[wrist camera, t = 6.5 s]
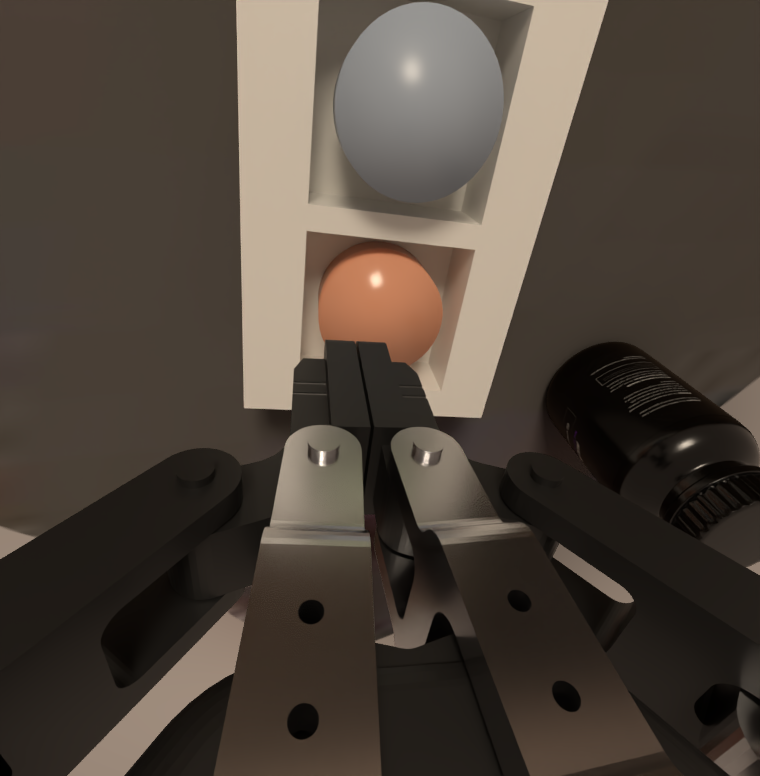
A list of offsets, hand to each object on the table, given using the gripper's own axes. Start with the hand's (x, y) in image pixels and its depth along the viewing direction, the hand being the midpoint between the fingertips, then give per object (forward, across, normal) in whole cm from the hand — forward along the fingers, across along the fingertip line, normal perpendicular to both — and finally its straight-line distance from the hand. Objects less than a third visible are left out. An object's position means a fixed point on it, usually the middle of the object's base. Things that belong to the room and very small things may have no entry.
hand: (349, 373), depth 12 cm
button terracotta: (+11, -2, +2) cm, 12 cm away
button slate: (+10, -2, -6) cm, 12 cm away
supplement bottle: (+12, -17, +8) cm, 23 cm away
